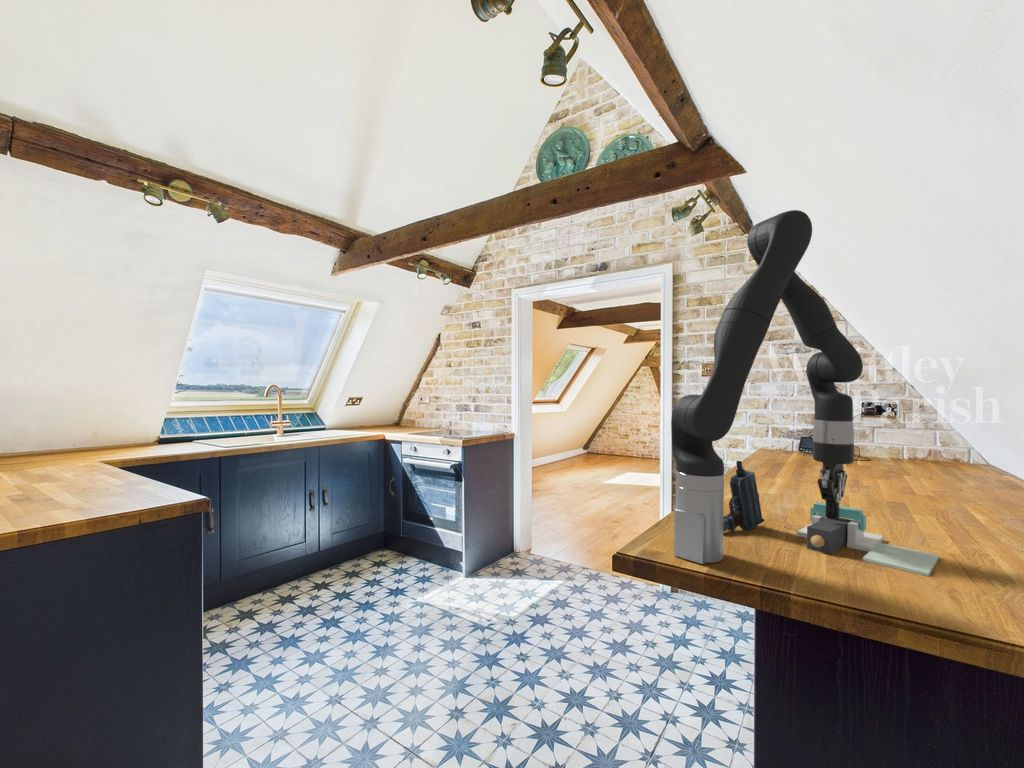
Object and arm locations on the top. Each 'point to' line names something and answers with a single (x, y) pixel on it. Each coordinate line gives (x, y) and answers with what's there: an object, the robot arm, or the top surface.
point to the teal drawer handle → (842, 513)
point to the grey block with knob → (828, 535)
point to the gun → (743, 501)
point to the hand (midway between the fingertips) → (832, 518)
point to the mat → (902, 558)
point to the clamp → (850, 534)
